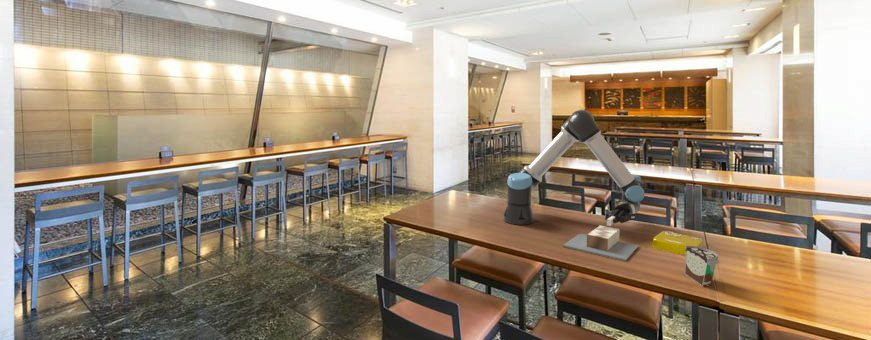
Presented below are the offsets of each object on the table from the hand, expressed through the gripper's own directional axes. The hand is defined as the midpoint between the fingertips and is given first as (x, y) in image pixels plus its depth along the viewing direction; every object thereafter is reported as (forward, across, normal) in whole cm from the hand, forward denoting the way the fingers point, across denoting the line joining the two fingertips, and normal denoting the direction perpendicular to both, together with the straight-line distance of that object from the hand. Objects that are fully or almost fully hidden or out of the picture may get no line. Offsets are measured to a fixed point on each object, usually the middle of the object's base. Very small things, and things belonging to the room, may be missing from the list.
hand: (608, 222), depth 165 cm
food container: (+18, -36, -9) cm, 41 cm away
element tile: (-11, -24, -9) cm, 28 cm away
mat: (+8, 0, -8) cm, 12 cm away
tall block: (-3, 0, -5) cm, 6 cm away
